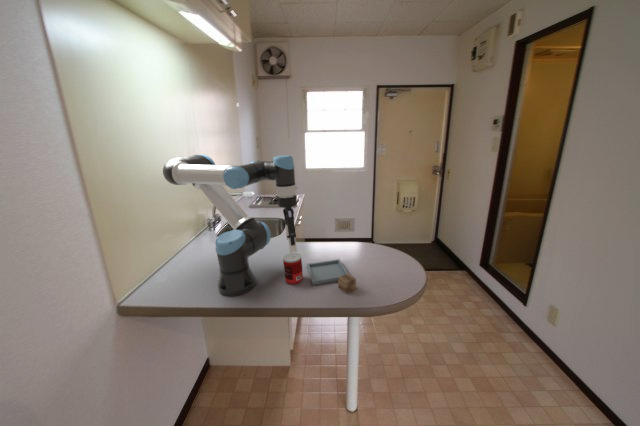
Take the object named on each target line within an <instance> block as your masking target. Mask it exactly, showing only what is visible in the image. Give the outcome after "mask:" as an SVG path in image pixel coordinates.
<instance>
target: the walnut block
mask: <svg viewBox="0 0 640 426" xmlns="http://www.w3.org/2000/svg"><path fill="white" fill-rule="evenodd" d="M337 283H338V284H337V286H338V287H337V288H338V289H339V290H340V291H342V292H343V293H344V294H345V295H346V294H349V293H351V292H353V291H356V290H357V279H356V277H354V276H352V275H351V274H349V273H348V274H346V275H343V276H341V277H338V282H337Z"/></svg>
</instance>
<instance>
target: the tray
mask: <svg viewBox="0 0 640 426" xmlns="http://www.w3.org/2000/svg"><path fill="white" fill-rule="evenodd" d="M305 266H306V269H307V270H306V271H307V273H308V276H309V279H310V281H311V284H312V286H314V287H315V286H320V285H326V284H332V283H333V284H334V283H338V277H341V276H343V275H346V274H349V273H348V271H347V269H346V268H345V265H344V264H343V263H342V261H341V259H340V258H338V259H332V260H331V259H330V260H325V261H317V262H311V263H306V265H305Z"/></svg>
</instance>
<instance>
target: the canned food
mask: <svg viewBox="0 0 640 426" xmlns="http://www.w3.org/2000/svg"><path fill="white" fill-rule="evenodd" d="M282 262H283V271H284V272H283V273H284V280H285V282H286V284H289V285H296V284H297V285H298V284H300V283H301V282H302V281H303V277H304V276H303V261H302V255H301V254H300V253H298V252H292V253H290V252H289V253H286V254H285V255H284V256H283V258H282Z"/></svg>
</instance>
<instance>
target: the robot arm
mask: <svg viewBox="0 0 640 426" xmlns="http://www.w3.org/2000/svg"><path fill="white" fill-rule="evenodd" d="M162 175H163V177H164V179H165V180H166V182H168V183H170V184H171V185H177V186H186V185H188V184H191V185H192V186H193V187H194V188H195V189H197V190H201V192H203V194H204V196H206V198H207V199H208V200H209V201H210V203H211V204H213V206H214V207H215V208H216V210H217V211H218V212H219V214H220V215H221V216H222V217H223V218H224V219H225V220H226V222H227V223H228V224H229V226H231V228H232V229H231V230H230V231H229V230H228V231H225V232H223V233H221V234H220V235H218V236H217V237H216V239H215V243H214V244H215V252H216V256H217V261H218V267H219V277H218V283H217V287H218V292H219V293H220V294H222V295H223V296H227V297H234V296H235V297H236V296H240V295H241V296H242V295H243V294H246V293H248V292H250V291H251V290H253V289H254V287H255V286H256V278H255V275H254V273H253V271H252V269H251V268H250V265H249V257H251V256H252V255H254V254H256V253H258V252H259V251H261V250H263V249H264V248H265V247H267V245H269V243H270V242H271V234H272V233H271V229H270V228H269V226H268V225H267V224H266V223H265V222H264V221H257V220H256V218H255V217H253V216H249V215H248V214H247V213H246V211H245V210H243V208H242V207H241V206H240V205H239V204H238V202H237V201H236V200H235V198H233V196H232V194H230V193H229V191H228V190H227V189H226V187H224V186H227V187H228V188H230V189H232V190H236V189H242V188H245V187H248V186H250V185H254V184H257V183H260V182H264V181H275V189H276V190H275V191H276V196H277V198H276V199H277V205H278V206H279V208H283V209H282V212H283V217H284V224H285V225H284V226H285V236H286V240H287V241H288V246H289V248H288V249H289V254H290V253H298V249H297V248H298V247H297V238H296V237H297V234H296V226H295V217H294V216H295V215H294V213H295V212H294V209H293V208H292V207H296V206H297V205H298V198H297V197H298V196H297V195H296V194H297V190H296V189H298V186H296V175H295V163H294V158H293V156H292V155H289V154H286V155H276V156H274V157H273V159H272V160H268V161H267V160H254V161H251V162H250V163H248V164H241V165H233V164H232V165H227V164H226V165H225V164H216V163H215V160H213V159H212V158H211V157H210V156H209V155H206V154H193V155H189V156H179V157H174V158H171V159H169V160H167V161H166V163H164V165H163V168H162Z"/></svg>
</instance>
